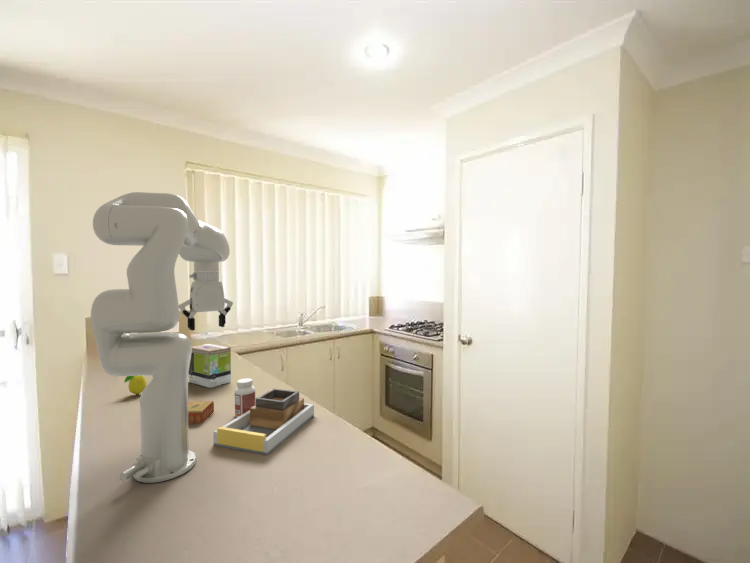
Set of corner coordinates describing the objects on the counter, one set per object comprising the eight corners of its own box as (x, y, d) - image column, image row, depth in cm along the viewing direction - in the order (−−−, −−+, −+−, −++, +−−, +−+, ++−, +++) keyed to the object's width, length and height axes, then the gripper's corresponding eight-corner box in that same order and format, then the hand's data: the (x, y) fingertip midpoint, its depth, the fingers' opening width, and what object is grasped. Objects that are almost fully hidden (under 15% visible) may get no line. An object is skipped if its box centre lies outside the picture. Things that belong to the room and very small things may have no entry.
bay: (267, 455, 88) (267, 436, 88) (213, 445, 93) (213, 427, 92) (313, 415, 112) (313, 401, 111) (269, 409, 116) (269, 395, 116)
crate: (283, 430, 99) (283, 404, 99) (250, 425, 103) (249, 399, 102) (303, 413, 111) (303, 390, 111) (273, 409, 114) (273, 386, 114)
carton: (202, 424, 106) (202, 410, 106) (148, 425, 105) (147, 411, 105) (214, 413, 114) (214, 400, 114) (163, 413, 113) (163, 400, 113)
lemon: (152, 392, 132) (152, 366, 132) (140, 398, 126) (140, 370, 126) (136, 391, 133) (135, 365, 133) (123, 397, 127) (122, 369, 127)
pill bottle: (258, 410, 115) (257, 377, 115) (252, 418, 109) (251, 383, 109) (238, 410, 115) (238, 377, 115) (231, 418, 109) (231, 383, 109)
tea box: (231, 382, 145) (231, 346, 144) (209, 389, 136) (208, 351, 136) (210, 376, 153) (209, 342, 152) (187, 382, 144) (187, 346, 144)
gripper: (182, 277, 109) (183, 332, 110) (236, 277, 122) (237, 326, 122) (174, 277, 114) (175, 330, 115) (227, 277, 127) (227, 324, 127)
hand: (207, 328), depth 118 cm, fingers open, 9 cm apart
